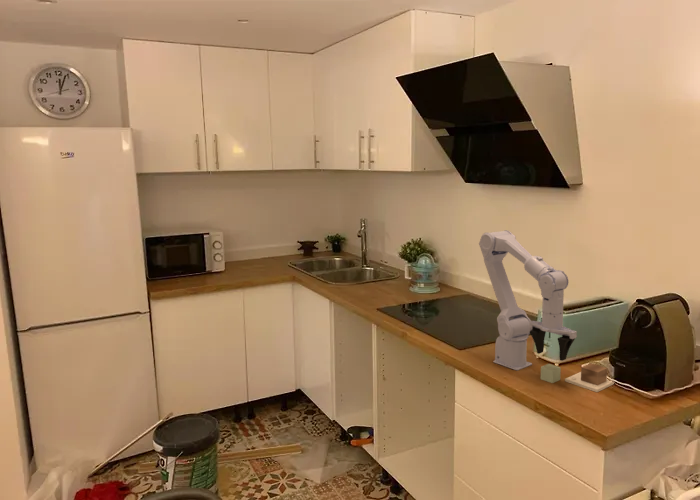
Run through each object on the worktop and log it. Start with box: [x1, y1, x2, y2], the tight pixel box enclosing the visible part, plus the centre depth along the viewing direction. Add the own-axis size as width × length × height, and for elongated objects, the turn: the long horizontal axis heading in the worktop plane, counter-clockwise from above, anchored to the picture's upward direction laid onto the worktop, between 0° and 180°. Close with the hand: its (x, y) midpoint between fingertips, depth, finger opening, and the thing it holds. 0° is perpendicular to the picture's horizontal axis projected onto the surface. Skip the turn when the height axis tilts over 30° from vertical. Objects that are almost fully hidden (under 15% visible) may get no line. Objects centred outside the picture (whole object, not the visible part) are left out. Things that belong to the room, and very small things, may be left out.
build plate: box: [564, 371, 615, 393], centre depth 156 cm, size 10×10×1 cm
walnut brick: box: [580, 363, 608, 385], centre depth 155 cm, size 5×5×4 cm
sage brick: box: [540, 363, 562, 384], centre depth 158 cm, size 4×4×4 cm
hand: (551, 356), depth 157 cm, fingers open, 7 cm apart
